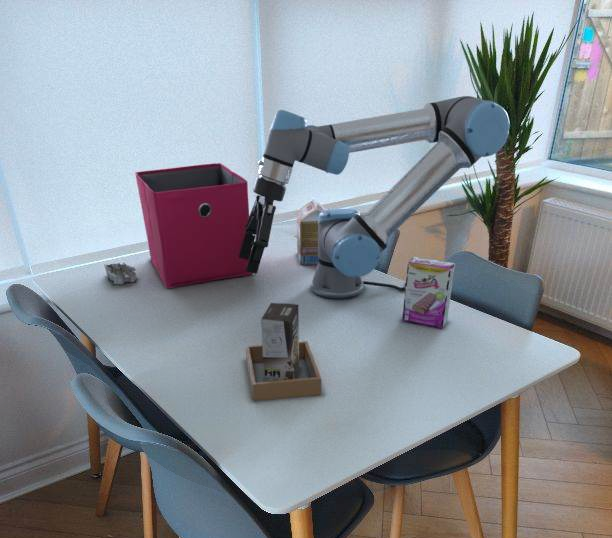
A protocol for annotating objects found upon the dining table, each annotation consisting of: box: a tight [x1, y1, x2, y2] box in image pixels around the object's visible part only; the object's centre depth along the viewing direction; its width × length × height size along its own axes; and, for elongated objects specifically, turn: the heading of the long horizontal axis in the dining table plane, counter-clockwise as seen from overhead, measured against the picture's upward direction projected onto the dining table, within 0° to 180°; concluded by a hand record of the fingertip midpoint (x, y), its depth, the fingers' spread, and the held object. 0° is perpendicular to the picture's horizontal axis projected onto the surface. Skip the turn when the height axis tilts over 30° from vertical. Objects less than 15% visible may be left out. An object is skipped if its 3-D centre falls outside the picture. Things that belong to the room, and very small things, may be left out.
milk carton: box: [296, 196, 328, 266], centre depth 196 cm, size 11×11×19 cm
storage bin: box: [134, 162, 254, 289], centre depth 186 cm, size 28×29×28 cm
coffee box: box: [260, 302, 300, 382], centre depth 131 cm, size 9×6×16 cm
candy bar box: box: [401, 256, 456, 329], centre depth 155 cm, size 11×5×16 cm, turn 65°
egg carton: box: [103, 262, 137, 285], centre depth 186 cm, size 11×8×4 cm
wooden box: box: [244, 340, 322, 402], centre depth 135 cm, size 15×18×4 cm
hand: (246, 265), depth 153 cm, fingers open, 13 cm apart
